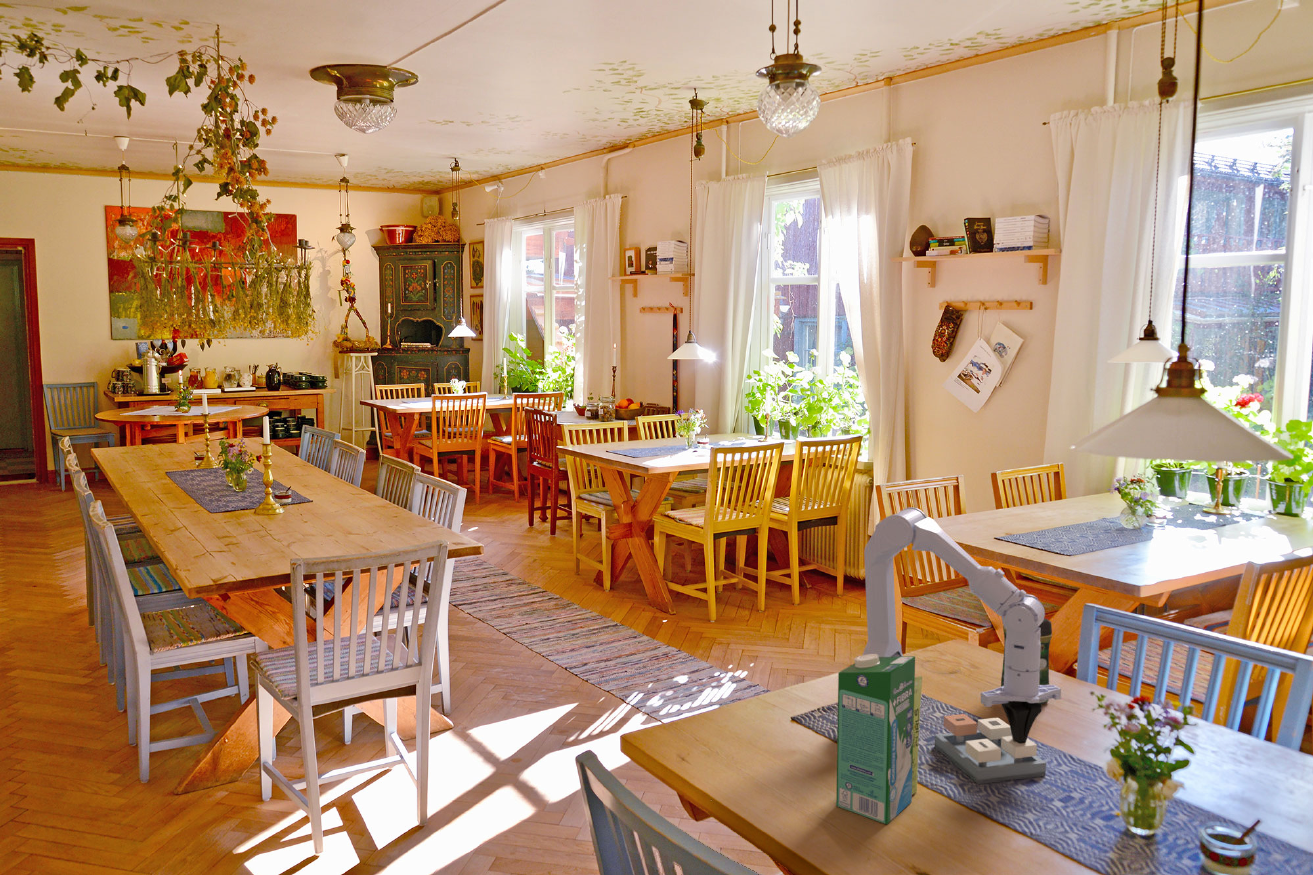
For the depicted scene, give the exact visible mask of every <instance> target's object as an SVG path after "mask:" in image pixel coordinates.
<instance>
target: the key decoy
mask: <svg viewBox="0 0 1313 875" xmlns="http://www.w3.org/2000/svg"><path fill="white" fill-rule="evenodd" d="M943 727H944V728H945V729H946V730H947V731H948V732H949V733H952V734H954V735H955V736H956V741H957V742H964V735H972V734H977V730H978V722H976V721H975V720H973V719H972V718H971V717H970V716H968V715H966V714H965V713H961V714H953V715H952V714H951V715H944V716H943Z"/></svg>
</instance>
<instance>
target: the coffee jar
mask: <svg viewBox="0 0 1313 875" xmlns="http://www.w3.org/2000/svg"><path fill="white" fill-rule="evenodd" d="M1052 626H1053V625H1052V621H1051V620H1049V619H1048V618H1045V617H1044V620H1043V622H1042V623H1041V624H1040V625H1039V626H1038V627H1040V628H1041V631H1040V634H1041V637H1040V642H1041V650H1040V675H1039V685H1050V657H1049V656H1050V644H1051V640H1052V638H1053V629H1052V628H1053V627H1052ZM1002 631H1003V638H1004V640H1003V641H1004V642H1003V643H1004V647H1003V648H1004V649H1003V660H1002V670H1001V677H1000V678H1001V679H1000V681H1001V682H1000V687H1002V686H1004V667H1005V640H1006V632H1007V630H1006V628H1005V627H1004V625H1003V624H1002ZM1049 700H1050V699H1042V700H1039V702H1038V703H1039V704H1040V705H1041V706H1042V705H1044V704H1046V703H1048V702H1049Z"/></svg>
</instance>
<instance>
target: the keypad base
mask: <svg viewBox="0 0 1313 875" xmlns="http://www.w3.org/2000/svg"><path fill="white" fill-rule="evenodd" d="M980 739H988V740H990V739H989V738H987V737H986V736H985V735H983V734H982V733H981V732H979V731H978V729H977V734H972V735H964V742H957V741H956V736H955V735H954V734H952V733H951V732H947V733H938V734H934V748H935V749H936V750H938V751H939V752H940V754H942V755H943V756H944V757H946V759H948V760H949V761H950V762H951V763H953V764H954V766H956V767H957V768H958V769H959V770H961V771H962V772H963V773H964V774H965V775H966V776H967V777H968V778H970V779H971V780H973V782H975V783H976V784H977V785H982V784H990V783H991V784H992V783H999V782H1009V781H1014V780H1022V779H1023V780H1024V779H1032V778H1039V777H1046V773H1047V772H1046V771H1047V770H1046V769H1047V768H1046V767H1047V763H1046V761H1044V760H1043V759H1041V758H1040V757H1039V756H1038V755H1037V756H1031V757H1023V761H1022V763H1014V757H1013V756H1011V755H1010V754H1009V753H1007V752H1006V751H1005V750H1003V749H1002V748H1001V739H998V745H997V746H998V747H999V748H1000V749H1001V760H997V761H989V762H987V767H981V768H980V767H979V766H978V762H977V761H976V760H975V759H974V758H972V757H971V756H970V755H969V754H967V753H966V752H965V751H966V741H971V740H980Z"/></svg>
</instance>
